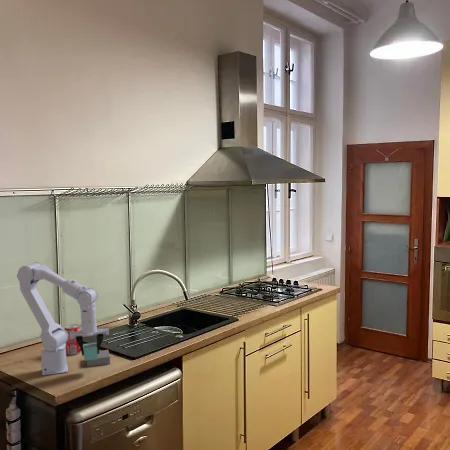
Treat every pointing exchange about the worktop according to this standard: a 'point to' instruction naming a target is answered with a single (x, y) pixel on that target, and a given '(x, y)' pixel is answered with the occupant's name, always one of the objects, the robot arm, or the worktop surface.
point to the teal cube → (90, 351)
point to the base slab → (100, 359)
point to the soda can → (72, 340)
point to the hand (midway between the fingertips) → (90, 354)
